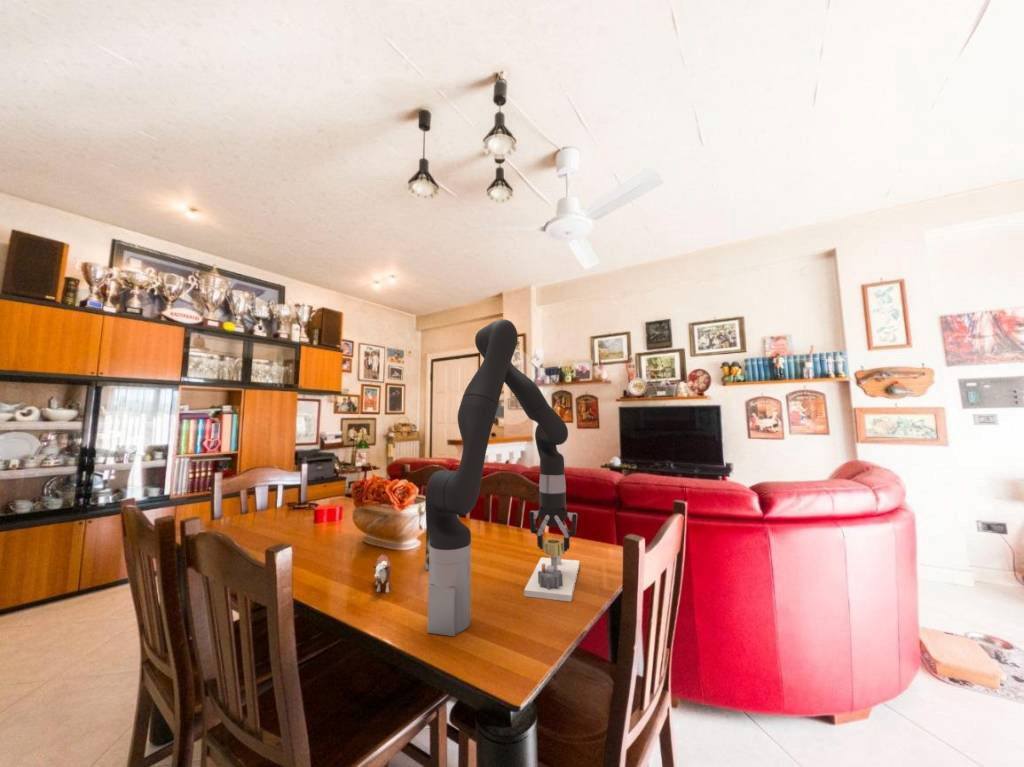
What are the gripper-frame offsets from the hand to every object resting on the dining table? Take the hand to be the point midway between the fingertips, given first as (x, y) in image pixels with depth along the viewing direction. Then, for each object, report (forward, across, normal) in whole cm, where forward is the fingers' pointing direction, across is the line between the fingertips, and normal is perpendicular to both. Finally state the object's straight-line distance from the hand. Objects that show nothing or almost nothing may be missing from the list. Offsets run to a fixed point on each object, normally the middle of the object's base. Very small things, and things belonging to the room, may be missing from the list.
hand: (553, 549), depth 108 cm
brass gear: (+1, 0, 0) cm, 1 cm away
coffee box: (+8, -35, +1) cm, 36 cm away
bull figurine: (+8, -44, -17) cm, 48 cm away
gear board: (+8, 0, 0) cm, 8 cm away
